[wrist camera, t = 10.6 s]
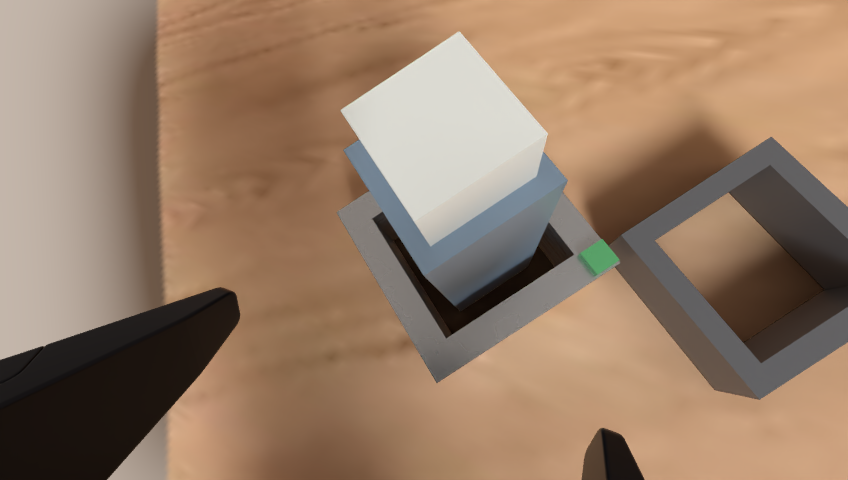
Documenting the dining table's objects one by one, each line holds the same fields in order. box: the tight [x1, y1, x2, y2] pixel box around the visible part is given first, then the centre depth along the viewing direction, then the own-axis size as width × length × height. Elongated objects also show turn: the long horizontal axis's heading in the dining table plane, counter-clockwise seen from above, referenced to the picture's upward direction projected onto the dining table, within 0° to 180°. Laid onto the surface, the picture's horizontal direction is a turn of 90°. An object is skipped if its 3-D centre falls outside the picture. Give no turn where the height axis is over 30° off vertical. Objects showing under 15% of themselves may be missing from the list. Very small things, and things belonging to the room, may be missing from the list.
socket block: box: [337, 191, 620, 383], centre depth 18 cm, size 8×8×4 cm
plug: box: [340, 32, 568, 312], centre depth 14 cm, size 4×4×13 cm
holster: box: [609, 137, 848, 400], centre depth 17 cm, size 7×7×3 cm
